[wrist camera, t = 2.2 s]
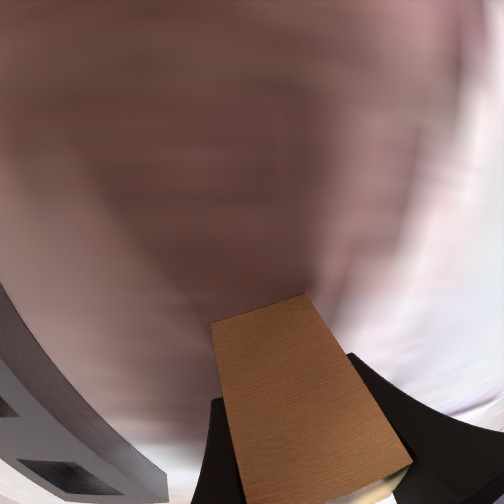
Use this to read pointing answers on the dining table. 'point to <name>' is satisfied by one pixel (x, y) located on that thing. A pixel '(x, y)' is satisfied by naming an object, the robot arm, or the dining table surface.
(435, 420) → the robot arm
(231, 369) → the wooden peg
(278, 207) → the dining table surface
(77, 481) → the steel frame
